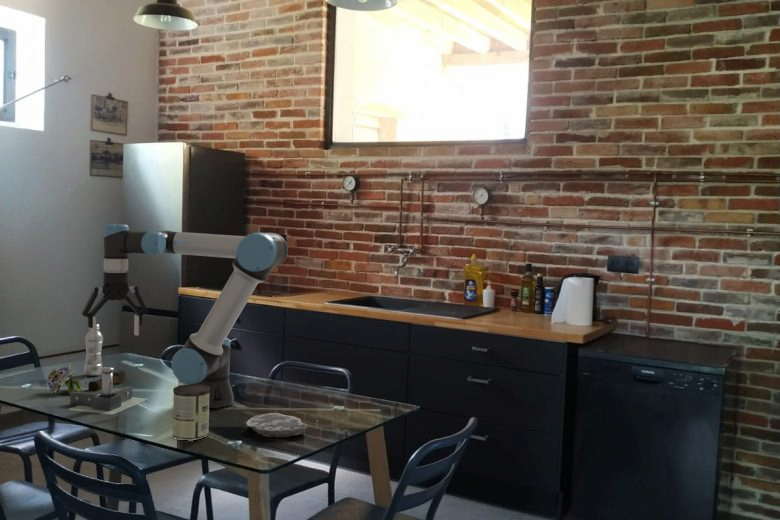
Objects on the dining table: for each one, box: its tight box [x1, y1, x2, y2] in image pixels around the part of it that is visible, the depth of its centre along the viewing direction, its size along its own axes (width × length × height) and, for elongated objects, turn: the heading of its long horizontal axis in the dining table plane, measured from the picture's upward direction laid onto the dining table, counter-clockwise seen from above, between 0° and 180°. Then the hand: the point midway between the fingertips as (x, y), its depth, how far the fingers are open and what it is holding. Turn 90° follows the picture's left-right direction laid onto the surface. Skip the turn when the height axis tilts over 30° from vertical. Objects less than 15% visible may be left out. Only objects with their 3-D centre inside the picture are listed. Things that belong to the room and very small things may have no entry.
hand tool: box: [87, 370, 127, 392], centre depth 262 cm, size 19×4×5 cm, turn 163°
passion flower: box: [46, 364, 88, 396], centre depth 250 cm, size 11×11×12 cm
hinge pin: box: [101, 366, 115, 398], centre depth 232 cm, size 4×4×13 cm
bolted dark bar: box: [112, 385, 133, 402], centre depth 240 cm, size 1×10×4 cm, turn 167°
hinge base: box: [69, 391, 121, 411], centre depth 233 cm, size 16×6×4 cm, turn 77°
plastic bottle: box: [83, 323, 104, 377], centre depth 277 cm, size 6×7×20 cm
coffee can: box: [172, 384, 210, 442], centre depth 208 cm, size 10×10×14 cm
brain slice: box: [245, 412, 309, 435], centre depth 216 cm, size 20×17×3 cm
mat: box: [68, 396, 149, 416], centre depth 237 cm, size 16×21×1 cm
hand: (115, 336), depth 235 cm, fingers open, 13 cm apart
